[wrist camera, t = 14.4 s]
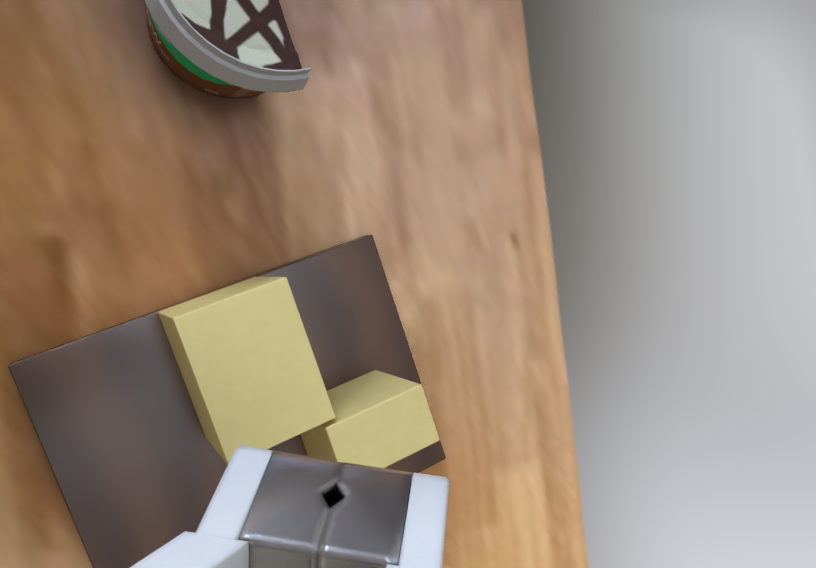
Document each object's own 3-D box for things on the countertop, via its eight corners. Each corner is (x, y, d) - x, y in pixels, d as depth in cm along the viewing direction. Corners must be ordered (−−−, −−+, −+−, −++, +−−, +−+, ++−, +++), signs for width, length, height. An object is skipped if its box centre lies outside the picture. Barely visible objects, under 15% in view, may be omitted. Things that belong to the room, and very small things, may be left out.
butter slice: (308, 457, 46) (346, 487, 39) (290, 406, 45) (325, 428, 39) (391, 418, 48) (440, 440, 42) (375, 369, 47) (422, 383, 41)
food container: (89, -67, 41) (93, -165, 32) (195, -84, 43) (227, -179, 34) (168, 146, 43) (194, 111, 34) (266, 118, 45) (314, 79, 36)
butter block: (206, 438, 43) (229, 467, 37) (157, 311, 42) (172, 318, 35) (299, 397, 45) (336, 417, 39) (256, 276, 44) (286, 276, 38)
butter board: (117, 620, 42) (118, 628, 41) (9, 363, 40) (7, 365, 39) (439, 455, 50) (446, 458, 50) (366, 235, 48) (372, 234, 47)
